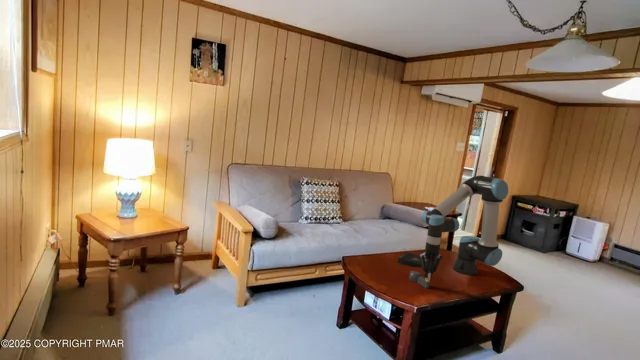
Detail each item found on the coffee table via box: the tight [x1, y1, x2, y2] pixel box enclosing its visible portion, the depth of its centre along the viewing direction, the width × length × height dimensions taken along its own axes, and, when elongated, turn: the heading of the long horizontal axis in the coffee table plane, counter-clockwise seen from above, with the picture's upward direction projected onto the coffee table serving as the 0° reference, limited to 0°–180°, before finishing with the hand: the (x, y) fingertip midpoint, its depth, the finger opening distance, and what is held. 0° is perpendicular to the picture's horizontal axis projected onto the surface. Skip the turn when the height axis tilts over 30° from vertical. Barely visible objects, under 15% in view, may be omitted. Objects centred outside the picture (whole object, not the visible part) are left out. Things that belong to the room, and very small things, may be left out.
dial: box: [408, 270, 431, 289], centre depth 201 cm, size 14×6×4 cm, turn 24°
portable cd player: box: [396, 251, 426, 269], centre depth 237 cm, size 16×17×4 cm
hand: (426, 283), depth 198 cm, fingers closed
